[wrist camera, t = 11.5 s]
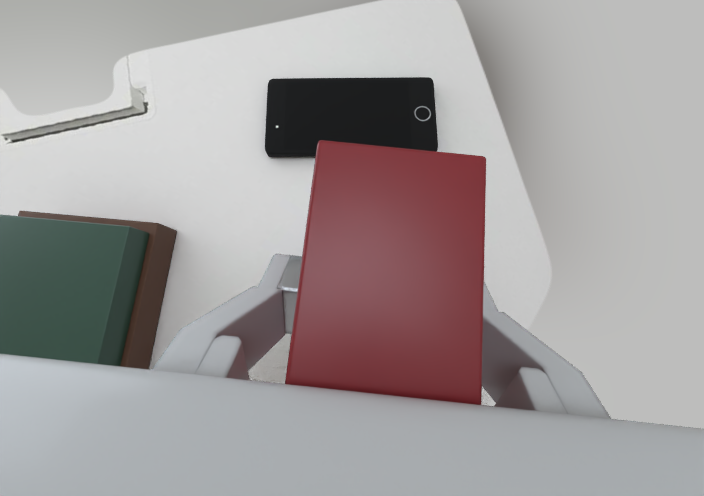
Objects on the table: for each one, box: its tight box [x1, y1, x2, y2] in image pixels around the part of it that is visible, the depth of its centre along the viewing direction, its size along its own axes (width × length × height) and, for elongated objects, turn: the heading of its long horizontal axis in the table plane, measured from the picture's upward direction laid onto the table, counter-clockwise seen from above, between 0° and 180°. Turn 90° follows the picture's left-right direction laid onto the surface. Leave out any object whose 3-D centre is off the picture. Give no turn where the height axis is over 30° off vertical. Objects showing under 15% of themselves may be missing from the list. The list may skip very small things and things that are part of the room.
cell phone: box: [265, 77, 438, 157], centre depth 32 cm, size 9×18×1 cm, turn 91°
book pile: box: [0, 211, 177, 369], centre depth 26 cm, size 18×13×6 cm
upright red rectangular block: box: [285, 140, 486, 405], centre depth 10 cm, size 6×4×10 cm, turn 174°
